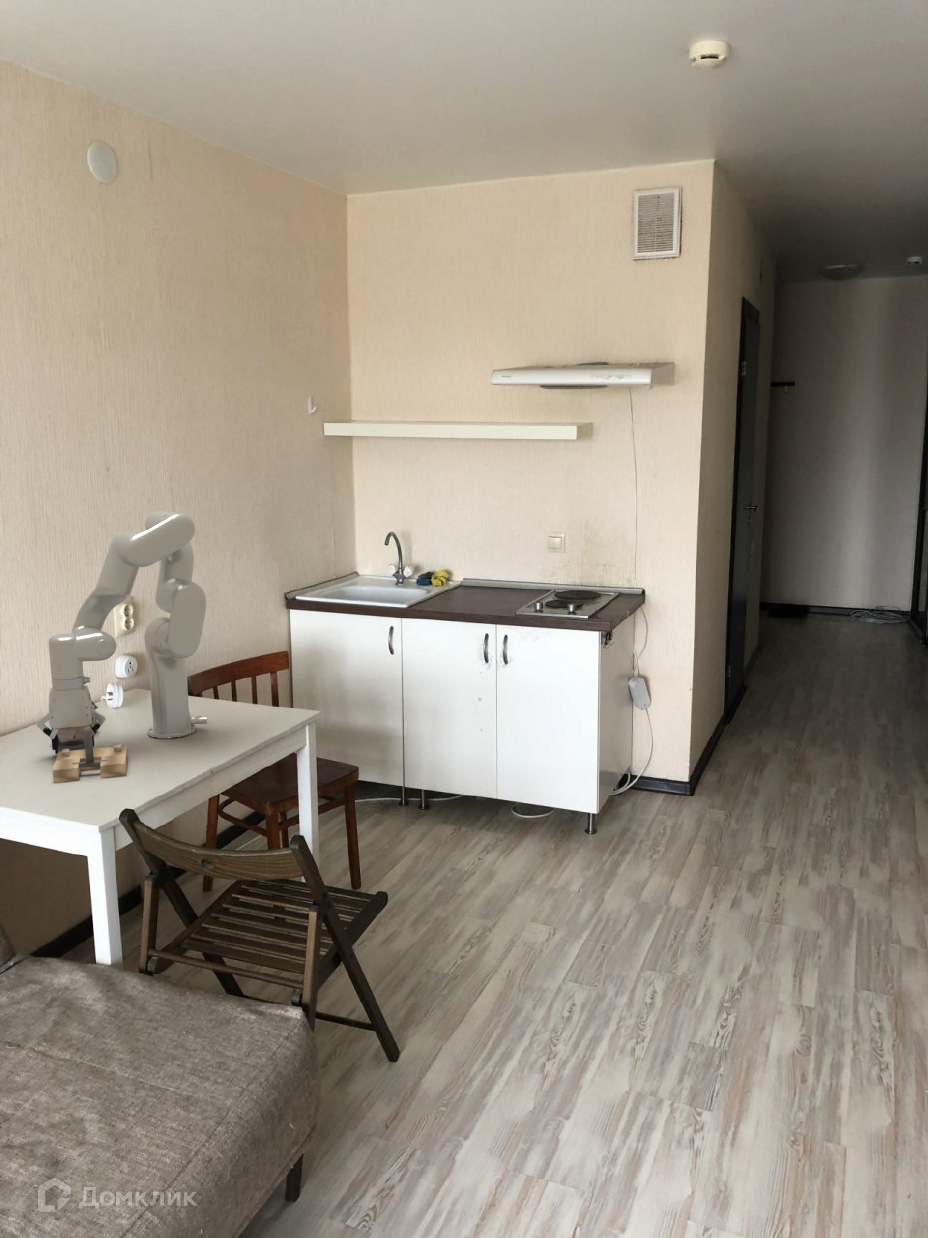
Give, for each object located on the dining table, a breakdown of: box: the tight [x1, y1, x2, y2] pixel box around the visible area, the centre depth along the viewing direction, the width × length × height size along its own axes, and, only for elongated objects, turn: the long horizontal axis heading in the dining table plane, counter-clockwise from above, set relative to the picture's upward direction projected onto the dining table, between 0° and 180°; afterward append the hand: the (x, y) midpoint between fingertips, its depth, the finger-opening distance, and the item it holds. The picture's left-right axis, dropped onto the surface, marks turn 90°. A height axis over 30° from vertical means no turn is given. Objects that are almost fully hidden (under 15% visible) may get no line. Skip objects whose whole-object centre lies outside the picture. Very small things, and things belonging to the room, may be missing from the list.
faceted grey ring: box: [57, 739, 85, 752], centre depth 250 cm, size 7×7×3 cm
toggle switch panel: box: [52, 729, 128, 783], centre depth 239 cm, size 16×14×11 cm
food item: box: [50, 705, 98, 743], centre depth 263 cm, size 14×8×10 cm, turn 179°
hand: (73, 750), depth 250 cm, fingers closed on faceted grey ring, 7 cm apart
